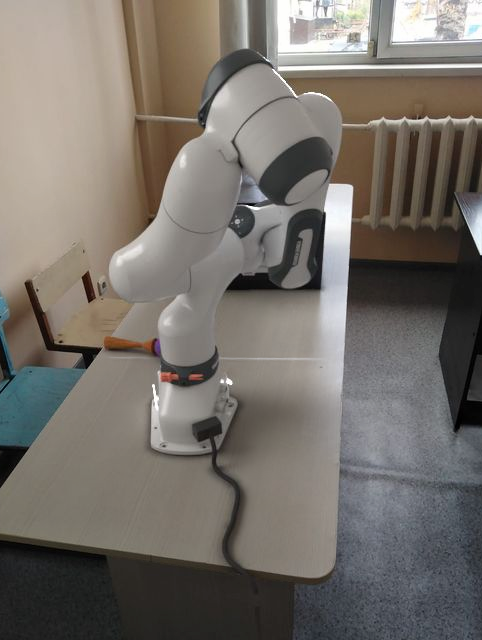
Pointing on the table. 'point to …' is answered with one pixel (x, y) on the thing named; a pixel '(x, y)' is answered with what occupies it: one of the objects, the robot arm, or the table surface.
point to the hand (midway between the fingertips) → (248, 272)
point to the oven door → (263, 283)
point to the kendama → (133, 344)
